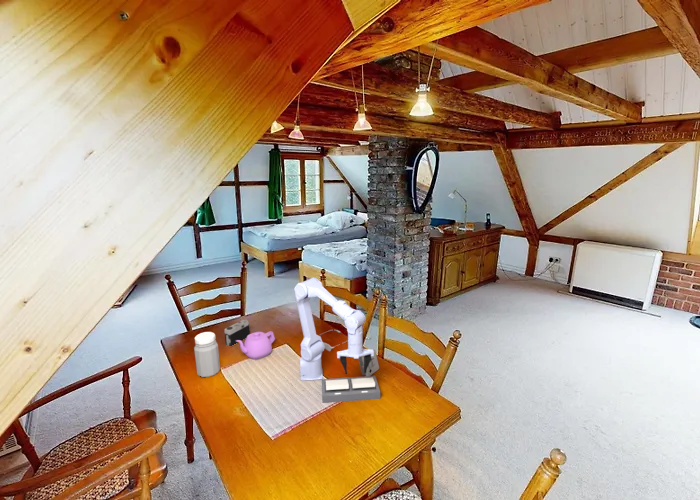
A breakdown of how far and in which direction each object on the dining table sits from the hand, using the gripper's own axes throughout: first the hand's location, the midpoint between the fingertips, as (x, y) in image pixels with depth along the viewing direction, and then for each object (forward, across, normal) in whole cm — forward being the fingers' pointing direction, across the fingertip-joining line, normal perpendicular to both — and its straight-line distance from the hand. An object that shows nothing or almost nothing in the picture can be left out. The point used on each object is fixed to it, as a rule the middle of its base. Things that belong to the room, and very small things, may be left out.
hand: (355, 372), depth 136 cm
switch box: (+10, -2, +1) cm, 10 cm away
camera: (+9, -59, +51) cm, 78 cm away
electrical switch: (+10, +8, +15) cm, 19 cm away
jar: (+9, -64, +21) cm, 68 cm away
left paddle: (+7, -8, +1) cm, 10 cm away
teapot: (+9, -45, +35) cm, 58 cm away
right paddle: (+7, +3, +1) cm, 7 cm away
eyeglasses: (+10, -6, +44) cm, 45 cm away
